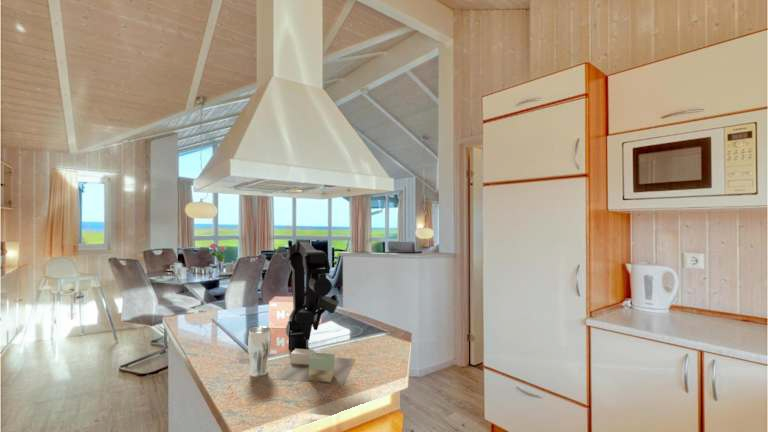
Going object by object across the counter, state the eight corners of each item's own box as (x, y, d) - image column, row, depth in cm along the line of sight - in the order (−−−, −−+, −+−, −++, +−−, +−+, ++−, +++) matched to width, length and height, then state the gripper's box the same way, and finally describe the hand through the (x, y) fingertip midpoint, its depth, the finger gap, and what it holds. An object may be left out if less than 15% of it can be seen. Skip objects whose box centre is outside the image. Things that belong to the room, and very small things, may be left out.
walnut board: (274, 382, 111) (274, 379, 111) (296, 357, 131) (296, 354, 131) (343, 388, 109) (343, 385, 109) (355, 361, 129) (355, 359, 129)
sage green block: (308, 369, 111) (309, 358, 111) (313, 363, 116) (313, 352, 116) (330, 371, 111) (331, 359, 111) (334, 365, 115) (334, 354, 115)
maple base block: (308, 380, 111) (308, 368, 111) (312, 373, 116) (313, 363, 116) (330, 381, 111) (330, 370, 111) (333, 375, 115) (334, 364, 115)
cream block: (290, 363, 123) (290, 353, 123) (294, 358, 128) (295, 348, 128) (310, 364, 123) (310, 354, 123) (313, 359, 127) (314, 349, 127)
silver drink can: (256, 382, 111) (258, 334, 111) (242, 376, 114) (243, 330, 114) (274, 374, 117) (275, 328, 117) (260, 369, 120) (261, 324, 120)
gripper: (330, 297, 110) (328, 347, 110) (343, 284, 128) (341, 327, 129) (295, 294, 111) (293, 344, 111) (313, 282, 129) (311, 324, 130)
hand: (311, 334), depth 120 cm, fingers open, 9 cm apart
